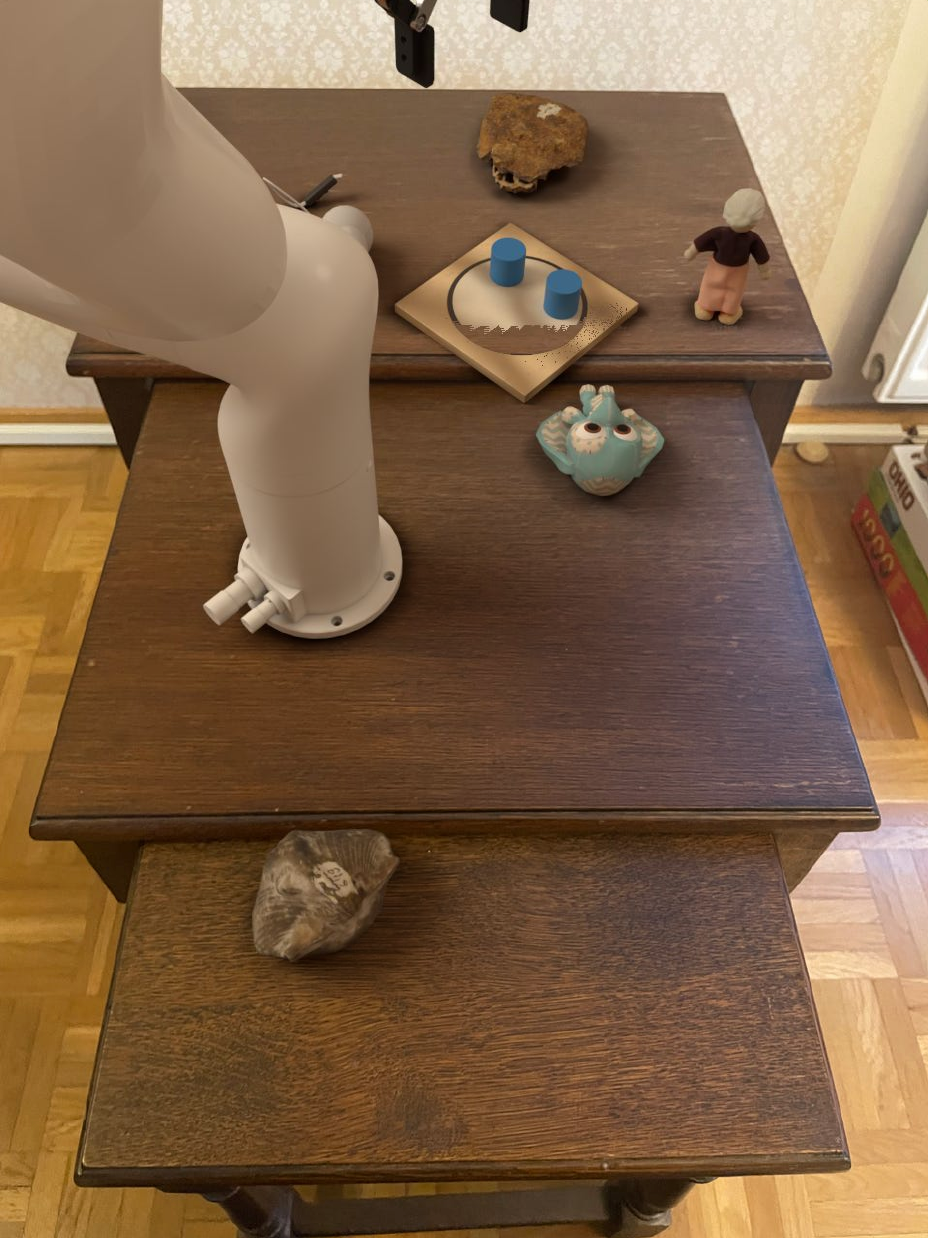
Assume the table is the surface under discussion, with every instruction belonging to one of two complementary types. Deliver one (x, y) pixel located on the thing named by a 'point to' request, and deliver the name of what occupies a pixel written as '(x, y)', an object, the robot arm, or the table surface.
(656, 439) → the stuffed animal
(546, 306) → the eye peg
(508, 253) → the eye peg
